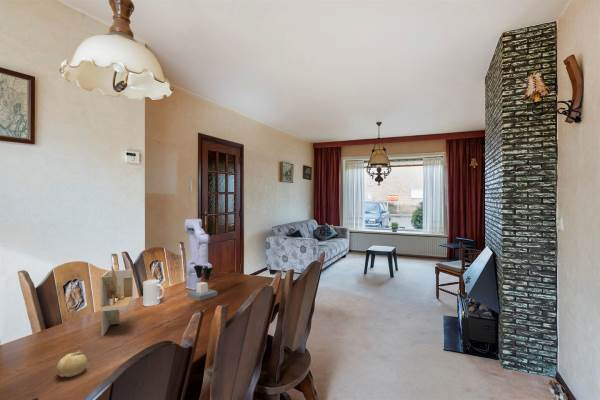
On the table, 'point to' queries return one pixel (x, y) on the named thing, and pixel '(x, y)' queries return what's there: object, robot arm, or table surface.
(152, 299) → the mug
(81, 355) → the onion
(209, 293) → the plate
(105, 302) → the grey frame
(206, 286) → the block
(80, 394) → the table surface
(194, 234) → the robot arm
